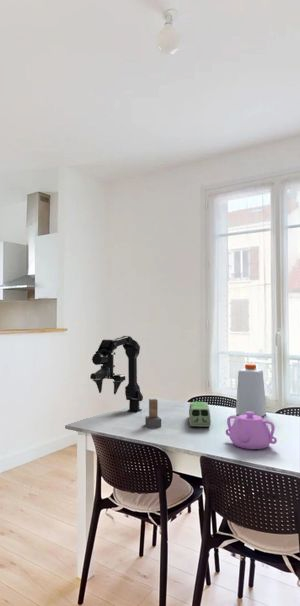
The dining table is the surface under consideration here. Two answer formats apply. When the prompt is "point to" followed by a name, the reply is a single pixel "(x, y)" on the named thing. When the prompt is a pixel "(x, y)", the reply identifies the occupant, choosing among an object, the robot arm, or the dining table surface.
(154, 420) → the tall wooden pillar block
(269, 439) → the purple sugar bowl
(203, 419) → the toy car
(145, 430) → the dining table surface
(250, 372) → the plastic bottle
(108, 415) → the dining table surface
